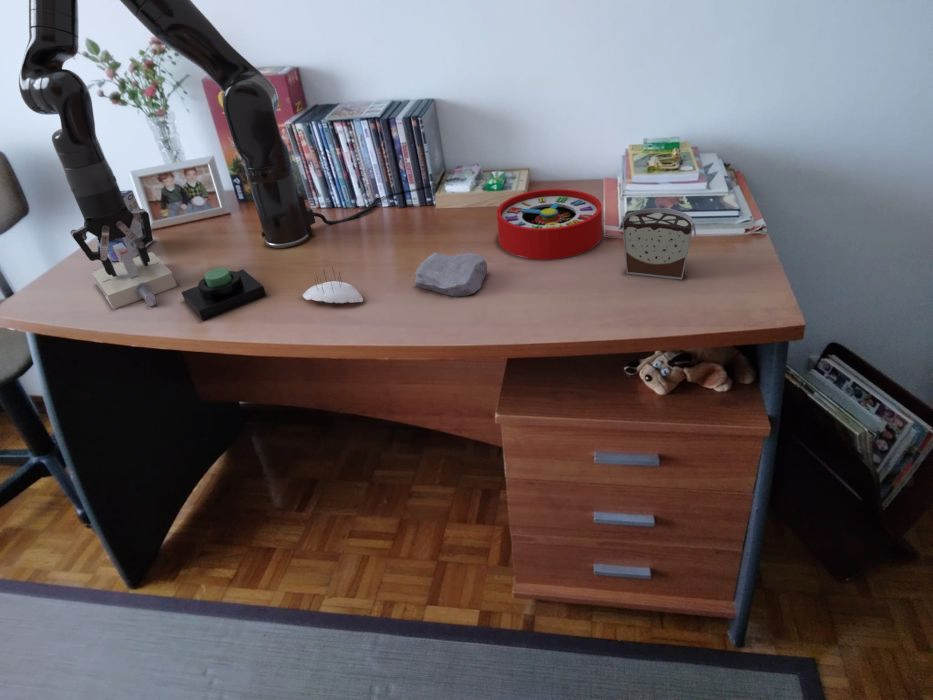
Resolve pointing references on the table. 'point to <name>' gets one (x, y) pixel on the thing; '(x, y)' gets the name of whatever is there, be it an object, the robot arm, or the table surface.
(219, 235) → the table surface
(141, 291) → the spout
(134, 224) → the ink cartridge box
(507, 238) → the toy clock
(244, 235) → the table surface
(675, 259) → the food container
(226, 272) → the push button
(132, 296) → the block
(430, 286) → the stone block
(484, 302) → the table surface
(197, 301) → the button housing
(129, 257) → the pale grey rectangular block
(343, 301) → the pincushion
